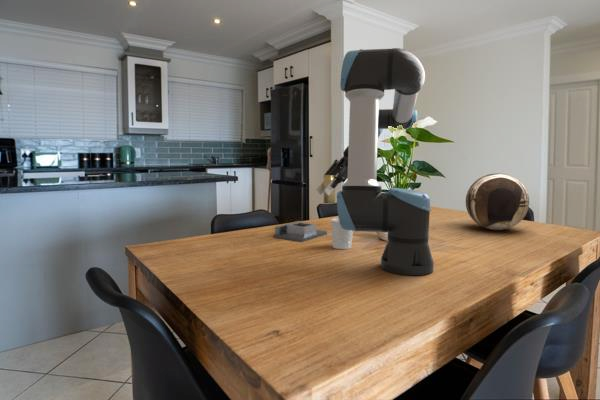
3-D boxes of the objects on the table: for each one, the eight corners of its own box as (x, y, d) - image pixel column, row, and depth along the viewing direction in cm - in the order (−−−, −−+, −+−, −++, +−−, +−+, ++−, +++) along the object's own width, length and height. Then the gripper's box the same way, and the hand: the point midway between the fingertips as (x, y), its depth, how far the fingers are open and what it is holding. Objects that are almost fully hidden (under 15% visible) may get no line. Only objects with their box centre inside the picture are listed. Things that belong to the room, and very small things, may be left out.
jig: (302, 241, 148) (302, 229, 148) (273, 237, 156) (273, 225, 156) (327, 234, 163) (327, 222, 162) (299, 229, 171) (299, 219, 170)
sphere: (467, 233, 166) (470, 174, 163) (461, 223, 190) (464, 171, 187) (533, 237, 159) (538, 175, 156) (519, 226, 183) (523, 172, 180)
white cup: (327, 248, 139) (327, 220, 138) (335, 243, 146) (336, 217, 145) (348, 250, 136) (348, 222, 134) (356, 246, 142) (356, 219, 141)
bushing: (331, 203, 154) (331, 175, 152) (321, 202, 156) (321, 175, 155) (337, 202, 158) (337, 175, 156) (326, 201, 160) (327, 174, 159)
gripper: (375, 157, 156) (341, 201, 149) (347, 157, 170) (315, 196, 164) (365, 143, 152) (330, 187, 145) (337, 144, 167) (304, 184, 160)
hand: (322, 192), depth 155 cm, fingers closed on bushing, 5 cm apart
